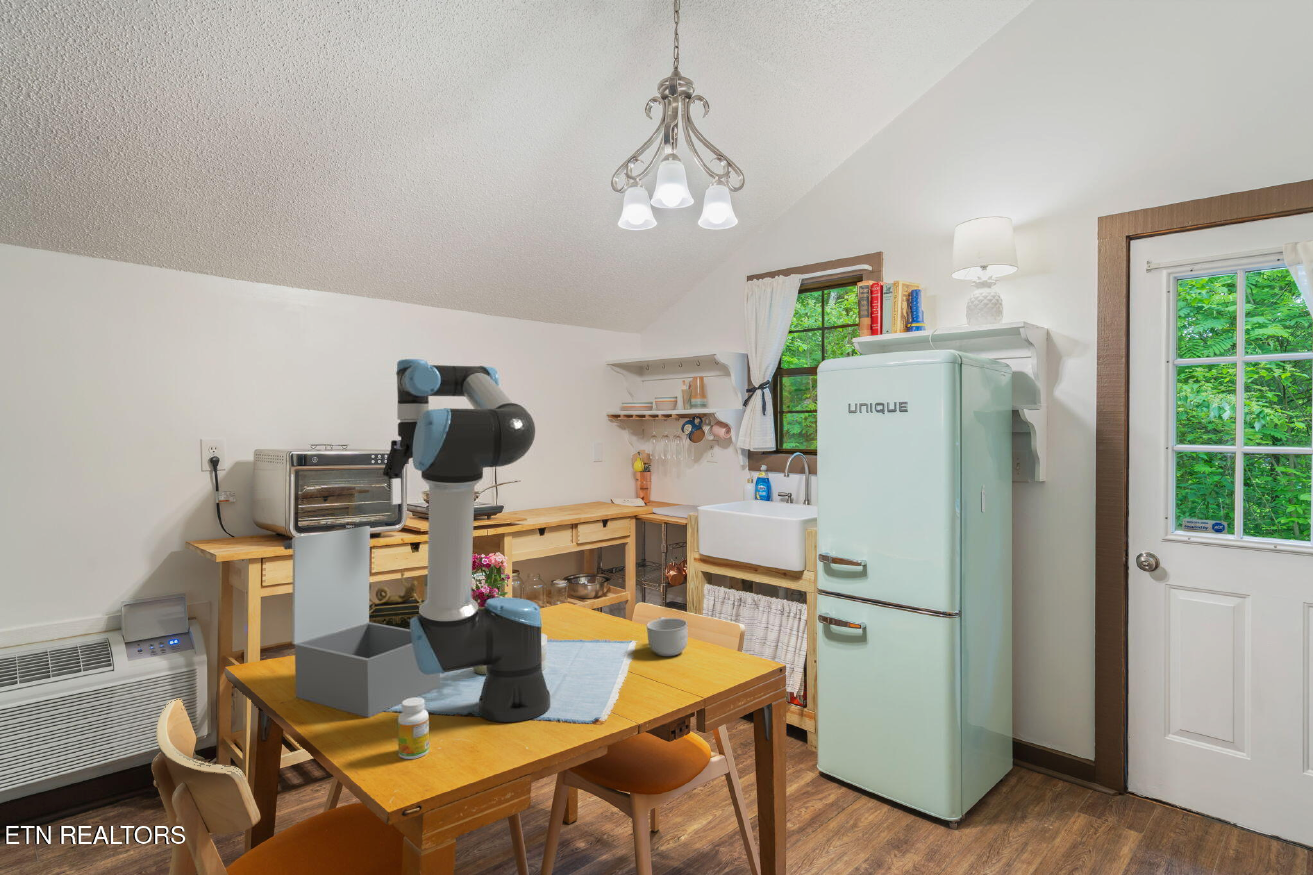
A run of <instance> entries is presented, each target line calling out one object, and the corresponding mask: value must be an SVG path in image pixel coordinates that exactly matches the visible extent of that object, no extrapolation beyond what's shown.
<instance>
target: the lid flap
mask: <svg viewBox="0 0 1313 875" xmlns="http://www.w3.org/2000/svg"><path fill="white" fill-rule="evenodd" d="M370 541H371V526H369V525H366V526H365V525H364V526H360V527H353V528H347V529H340V530H335V531H333V530H332V531H328V532H321V533H313V534H307V535H302V536H295V537H292V539H291V540H285V541H283V543H282V546H283V549H284V550H285V551H286V550H292V612H291V613H292V616H291V618H292V620H291V621H292V624H291V625H292V630H291V631H292V632H291V634H292V636H291V637H292V640H291V643H292V645H295V644H298V643H301V642H304V641H308V640H311V639H314V638H318V637H321V636H324V635H328V634H331V633H335V632H338V631H341V630H345V629H348V628H351V627H355V626H358V625H361V624H365V623H368V622H369V605H370V600H369V595H370V594H369V582H370V569H371V568H370V562H371V561H370V560H371V558H370V555H371V554H370V553H371V547H370V546H371V545H370V544H371V542H370Z"/></svg>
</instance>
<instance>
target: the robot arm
mask: <svg viewBox="0 0 1313 875" xmlns="http://www.w3.org/2000/svg"><path fill="white" fill-rule="evenodd" d="M395 375H396V385H397V387H396V388H397V390H396V392H397V412H396V413H397V414H396V415H397V420H399V422H398V423H397V436H398V437H399V438H400V439H393V440H391V442H390V451H389V453H388V456H387V459H386V462H385V465H384V469H383V472H382V475H383V477H387V478H388V479H389V480H388V482H389V484H388V485H389V486H388V487H389V492H390V505H392V506H393V505H399V504H402V478H401V474H402V471H403V470H404V468H405V466H406V465H407V463H408V461H409V460H410V459H412V464H413V467H414V469H415V470H417V471H419V472H420V473H421V474H420V475H421V480H423V481H424V482H425V483H426V484H427V485H428V531H427V532H428V533H427V534H428V536H427V537H428V541H427V583H426V584H427V585H426V587H427V591H426V592H427V593H426V599H425V601H424V602H423V603H422V604H421V605H420V607H419V617H417V616H416V617H414V618H412V619H411V620H410V632H411V639H412V645H413V650H414V655H415V659H416V662H417V665H418V668H419V670H420V671H421V672H422V673H423V674H426V675H430V674H438V673H440V675H443V674H445V673H449V672H455V671H463V670H468V669H473V668H478V667H483V666H484V667H485V668H486V672H485V673H486V675H485V678H484V682H483V684H482V687H481V688H482V689H481V692H480V695H479V698H478V704H477V706H478V714H479V716H481V717H482V718H483V719H485V720H488V721H493V722H498V723H499V722H501V723H516V722H523V721H527V720H532V719H534V718H537V717H540V716H542V715H543V714H545V713H547V711H549V709H550V707H551V693H550V692H549V689H548V686H547V682H546V678H545V676H544V673H543V669H542V668H543V667H542V664H543V663H542V659H543V658H542V627H543V623H542V614H541V608H540V607H539V605H538V604H537V603H536V602H534V601H532V600H528V599H525V598H518V597H509V596H508V597H507V596H506V597H505V596H504V597H501V596H500V597H493V598H489V599H487V600H486V601H485V604H484V607H483V608H479V604H478V602H477V601H475V599H473V597H472V583H473V582H472V578H473V577H472V575H473V549H474V547H473V545H474V543H473V541H474V515H475V514H474V512H475V487H476V485H477V484H479V483H480V482H481V481H482V480H483V478H484V477H483V476H484V475H483V474H484V468H499V467H505V466H507V465H512V464H513V463H516V462H517V461H518V460H520V459H521V458H523V457H524V456H525V455H526V454H527V453H528V452H529V450H530V449H531V447H532V446H533V443H534V441H535V437H536V425H535V422H534V419H533V417H532V415H531V414H530V413H529V412H528V410H527V409H526V408H525V407H523V406H522V405H520V404H519V403H517V402H513V401H512V400H511V399H510V398H509V396H508V395H506V393H505V392H504V391H503V390H502V389H501V388H500V387H499V386H500V379H499V377H500V376H499V374H498V371H497V369H496V368H495V367H492V366H483V365H477V366H476V365H442V364H441V365H440V364H429V363H428V361H427V360H425V359H418V358H405V359H399V360H398V361H397V362H396V372H395ZM429 397H462V398H463V397H465V398H466V400H467V401H468V402H469V404H471V407H472V408H449V407H444V408H435V409H430V406H429V405H430V402H429V399H430V398H429Z"/></svg>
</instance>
